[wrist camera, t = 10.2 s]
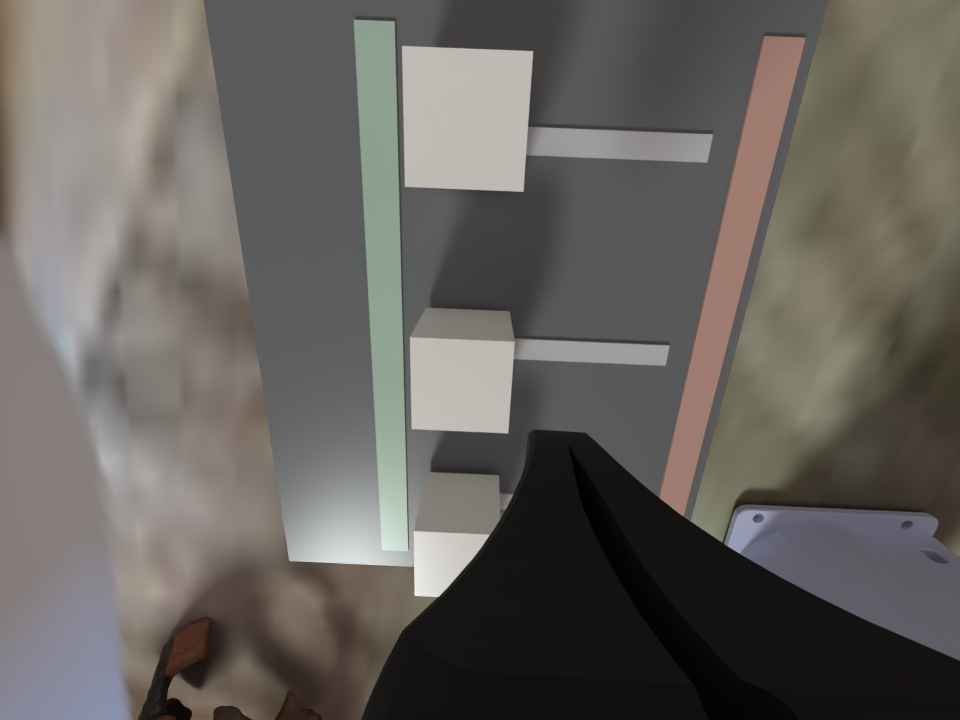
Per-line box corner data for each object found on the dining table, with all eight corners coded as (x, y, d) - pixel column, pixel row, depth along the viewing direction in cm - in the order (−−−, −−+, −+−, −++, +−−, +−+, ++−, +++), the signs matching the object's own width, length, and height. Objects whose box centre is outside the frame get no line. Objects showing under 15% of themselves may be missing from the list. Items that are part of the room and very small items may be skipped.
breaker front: (522, 84, 13) (533, 50, 10) (516, 191, 14) (523, 191, 11) (423, 80, 13) (402, 45, 10) (423, 187, 14) (404, 186, 11)
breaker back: (499, 475, 18) (501, 535, 15) (495, 532, 19) (496, 599, 16) (426, 471, 18) (413, 531, 15) (427, 529, 19) (414, 595, 16)
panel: (784, 22, 14) (830, -4, 12) (659, 546, 22) (675, 580, 20) (236, 0, 15) (197, -29, 13) (305, 530, 22) (288, 562, 20)
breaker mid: (509, 311, 16) (514, 342, 13) (504, 387, 17) (508, 433, 14) (426, 307, 16) (410, 336, 13) (426, 384, 17) (411, 428, 14)
